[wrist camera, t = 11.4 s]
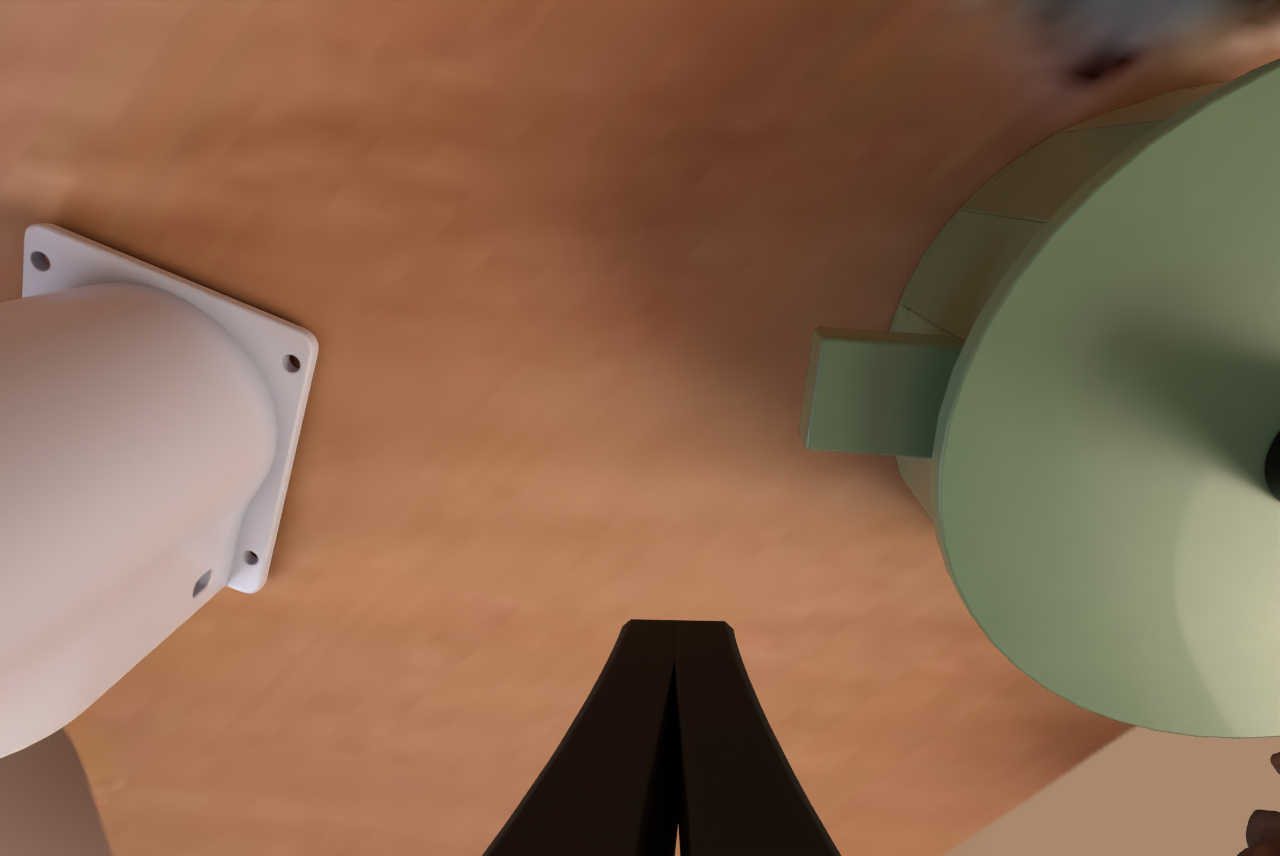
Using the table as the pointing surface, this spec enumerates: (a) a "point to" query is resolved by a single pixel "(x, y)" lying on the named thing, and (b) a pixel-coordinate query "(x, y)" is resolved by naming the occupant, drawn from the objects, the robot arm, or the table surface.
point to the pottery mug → (1264, 828)
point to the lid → (1134, 433)
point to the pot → (954, 298)
